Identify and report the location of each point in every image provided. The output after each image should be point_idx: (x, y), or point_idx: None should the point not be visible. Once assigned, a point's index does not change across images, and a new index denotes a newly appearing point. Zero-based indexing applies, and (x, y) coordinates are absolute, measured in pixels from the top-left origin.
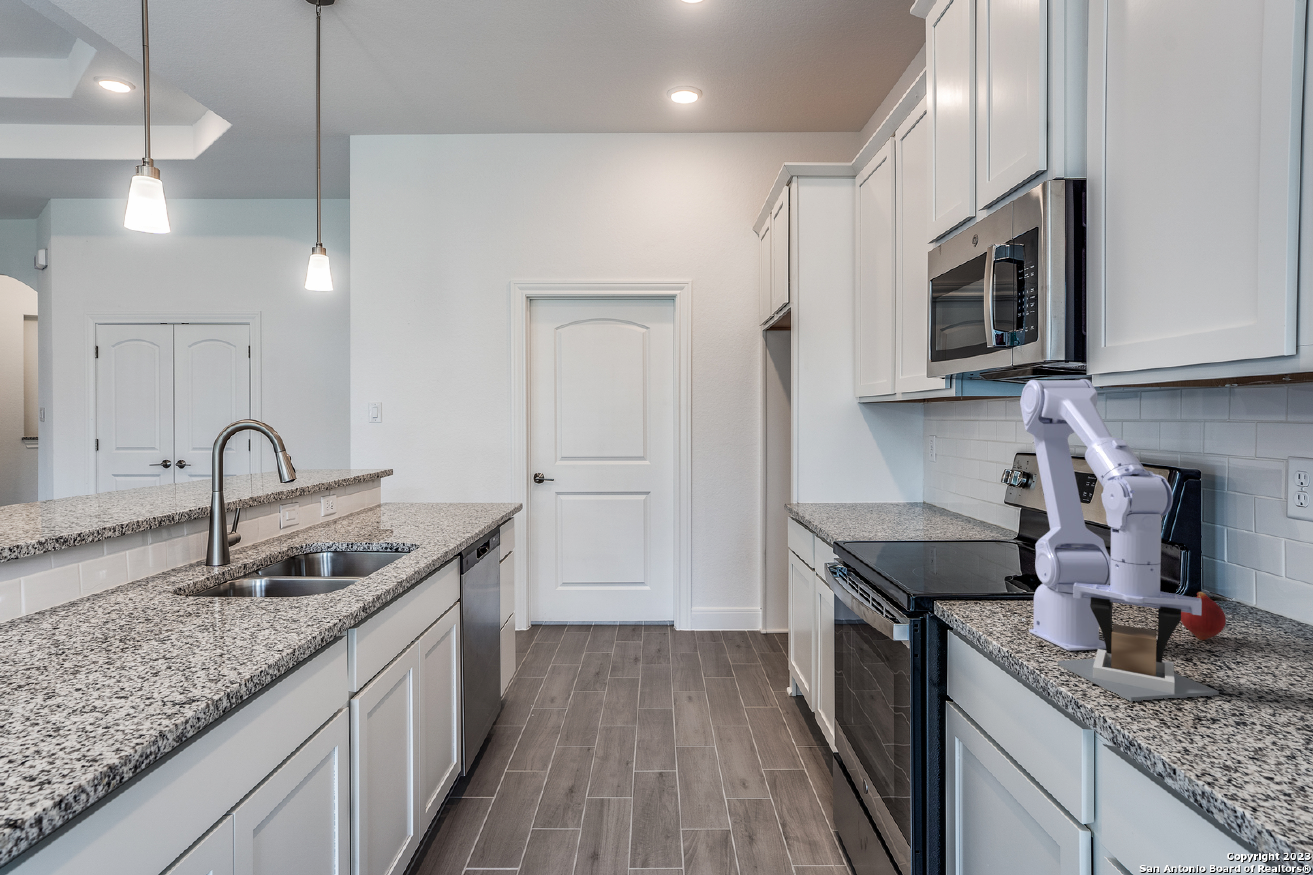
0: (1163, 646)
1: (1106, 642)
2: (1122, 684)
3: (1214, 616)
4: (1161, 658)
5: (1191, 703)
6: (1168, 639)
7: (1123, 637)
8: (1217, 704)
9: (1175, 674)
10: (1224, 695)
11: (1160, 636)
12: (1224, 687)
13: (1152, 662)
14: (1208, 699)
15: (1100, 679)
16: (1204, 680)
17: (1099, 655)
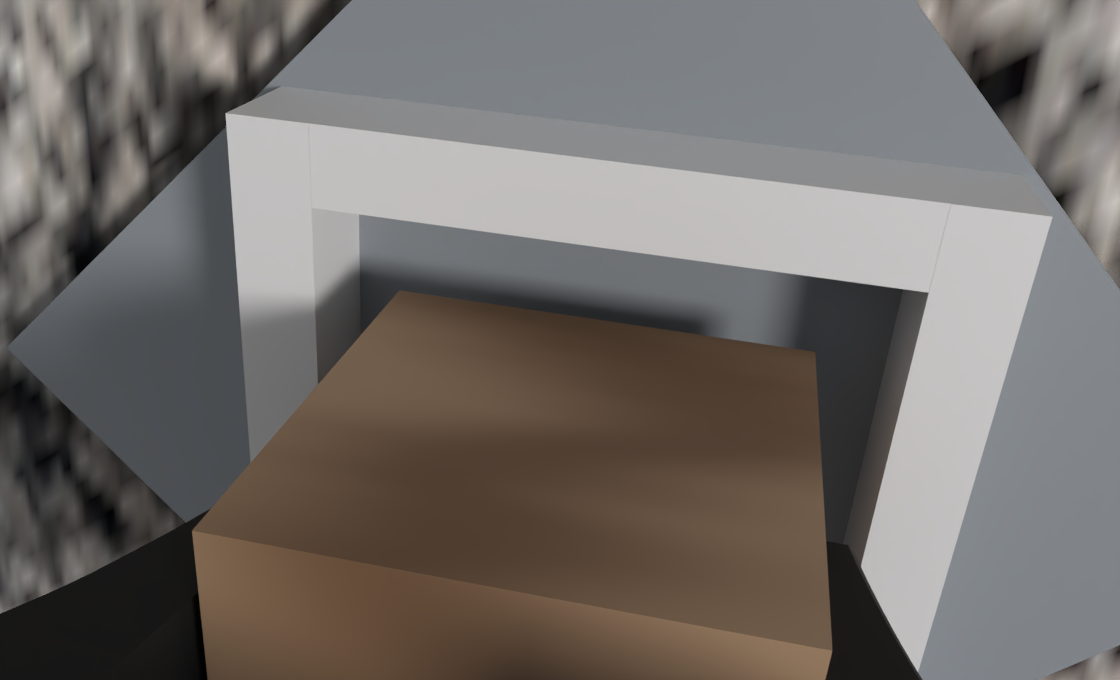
0: (176, 533)
1: (873, 618)
2: (727, 105)
3: None
4: None
5: (176, 20)
6: (50, 593)
7: (651, 585)
8: (15, 117)
9: None
10: (4, 361)
11: (124, 620)
12: (26, 529)
13: (376, 356)
14: (80, 208)
15: (942, 158)
16: None
17: None
